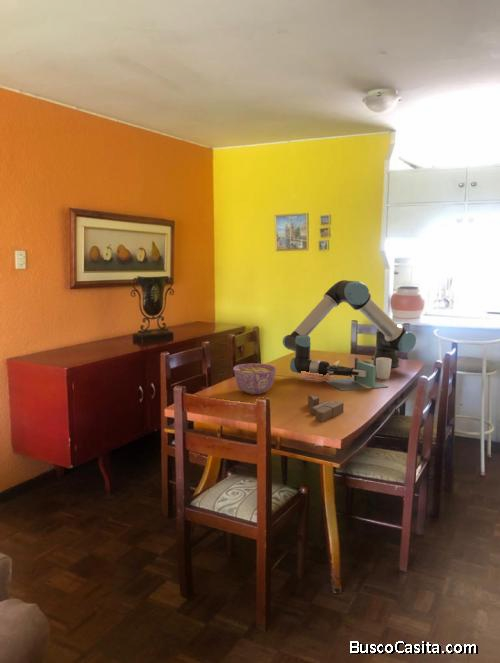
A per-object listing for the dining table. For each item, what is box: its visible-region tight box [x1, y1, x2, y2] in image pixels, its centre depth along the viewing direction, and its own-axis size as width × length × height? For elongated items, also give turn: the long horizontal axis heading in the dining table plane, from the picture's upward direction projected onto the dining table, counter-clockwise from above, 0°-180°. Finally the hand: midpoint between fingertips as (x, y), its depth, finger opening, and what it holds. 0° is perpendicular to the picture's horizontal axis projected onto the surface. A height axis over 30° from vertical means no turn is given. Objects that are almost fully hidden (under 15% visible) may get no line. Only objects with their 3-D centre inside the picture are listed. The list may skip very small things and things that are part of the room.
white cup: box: [375, 357, 392, 380], centre depth 271 cm, size 8×8×10 cm
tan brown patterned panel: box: [353, 356, 375, 381], centre depth 263 cm, size 11×2×12 cm, turn 107°
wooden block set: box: [307, 394, 345, 423], centre depth 211 cm, size 17×6×18 cm
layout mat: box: [327, 377, 389, 392], centre depth 258 cm, size 25×20×1 cm
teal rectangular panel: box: [356, 360, 376, 387], centre depth 255 cm, size 13×2×10 cm, turn 25°
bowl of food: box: [232, 362, 277, 395], centre depth 241 cm, size 20×20×12 cm
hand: (365, 373), depth 252 cm, fingers closed
